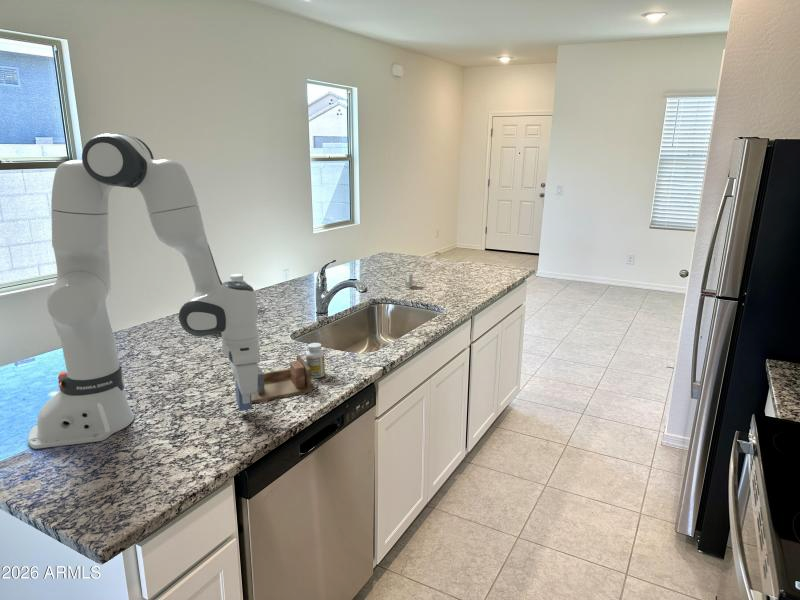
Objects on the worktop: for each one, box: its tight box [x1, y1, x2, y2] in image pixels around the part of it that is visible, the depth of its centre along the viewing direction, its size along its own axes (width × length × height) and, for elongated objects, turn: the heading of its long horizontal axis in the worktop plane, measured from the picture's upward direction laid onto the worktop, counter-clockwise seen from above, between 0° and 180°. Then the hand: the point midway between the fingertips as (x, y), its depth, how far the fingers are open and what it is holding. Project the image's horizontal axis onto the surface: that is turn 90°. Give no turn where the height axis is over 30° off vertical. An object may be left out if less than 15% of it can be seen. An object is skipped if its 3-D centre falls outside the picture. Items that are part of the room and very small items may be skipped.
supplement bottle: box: [305, 342, 326, 379], centre depth 162 cm, size 5×5×10 cm
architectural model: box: [402, 272, 414, 289], centre depth 265 cm, size 3×7×7 cm, turn 163°
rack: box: [251, 355, 313, 404], centre depth 152 cm, size 17×12×7 cm
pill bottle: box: [229, 273, 248, 284], centre depth 228 cm, size 8×8×15 cm
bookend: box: [257, 366, 265, 395], centre depth 149 cm, size 2×6×6 cm, turn 26°
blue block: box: [235, 380, 253, 412], centre depth 137 cm, size 3×6×6 cm, turn 25°
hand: (243, 396), depth 138 cm, fingers closed on blue block, 5 cm apart
